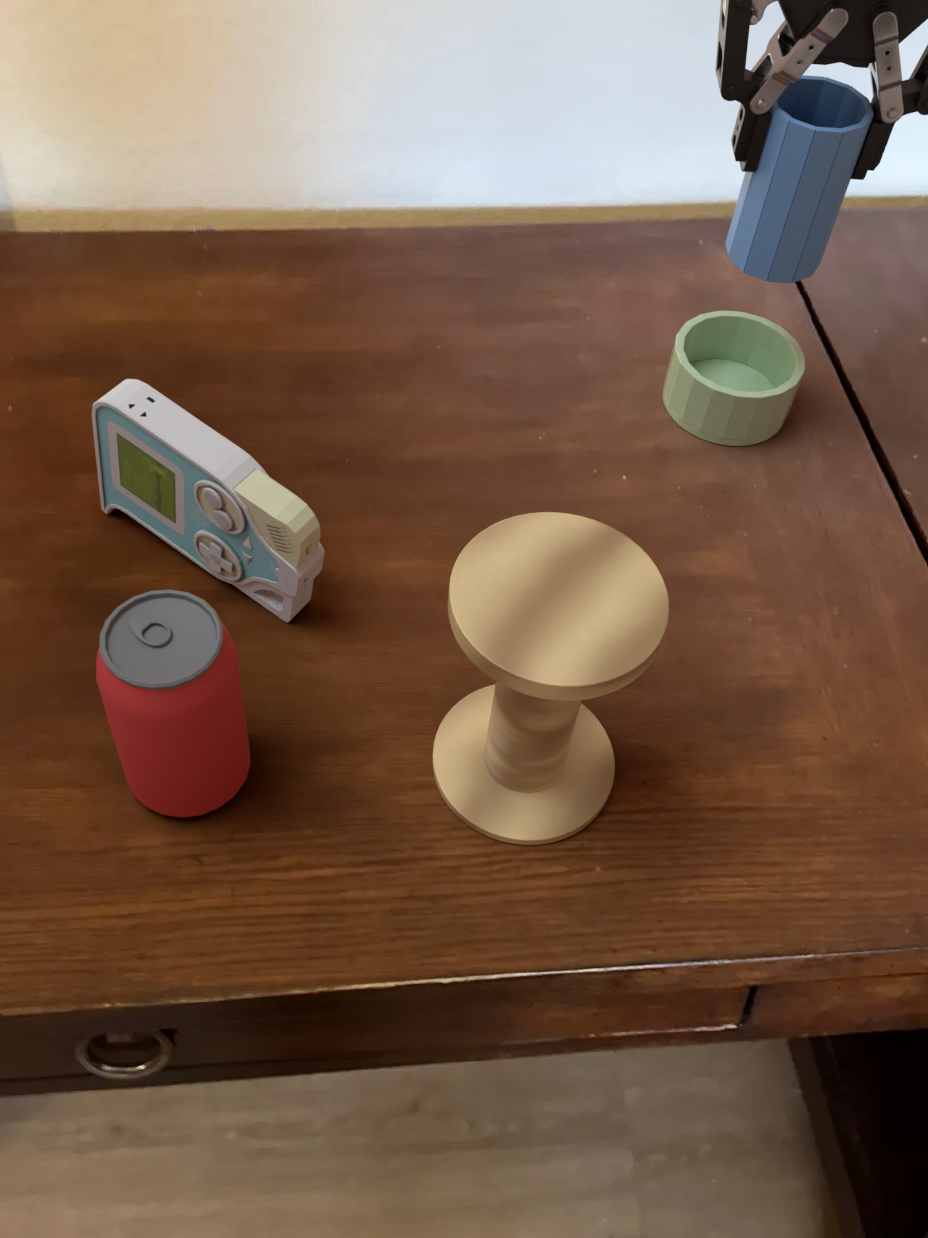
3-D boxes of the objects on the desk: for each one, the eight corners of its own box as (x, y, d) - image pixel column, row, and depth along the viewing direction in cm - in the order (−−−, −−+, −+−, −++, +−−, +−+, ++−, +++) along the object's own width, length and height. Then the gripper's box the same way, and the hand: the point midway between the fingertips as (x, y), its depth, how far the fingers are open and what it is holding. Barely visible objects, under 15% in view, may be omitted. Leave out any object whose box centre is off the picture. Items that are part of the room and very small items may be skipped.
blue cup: (831, 247, 76) (886, 96, 69) (799, 294, 73) (853, 143, 65) (747, 214, 78) (790, 64, 70) (711, 260, 75) (753, 107, 67)
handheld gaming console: (287, 649, 73) (97, 513, 75) (316, 619, 74) (129, 486, 77) (301, 540, 63) (84, 389, 66) (334, 508, 65) (120, 362, 67)
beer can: (186, 695, 68) (159, 557, 58) (277, 758, 66) (264, 626, 56) (99, 777, 64) (55, 645, 55) (192, 846, 62) (163, 721, 53)
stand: (643, 739, 68) (704, 569, 56) (561, 879, 63) (610, 724, 51) (488, 659, 71) (516, 481, 59) (397, 787, 65) (407, 619, 53)
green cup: (804, 390, 87) (823, 341, 83) (758, 465, 82) (776, 416, 78) (692, 343, 89) (706, 293, 86) (641, 413, 84) (654, 363, 81)
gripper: (765, -130, 55) (685, 198, 68) (1073, -105, 56) (935, 214, 69) (742, -194, 59) (672, 125, 73) (1028, -171, 60) (906, 140, 74)
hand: (800, 167), depth 71 cm, fingers closed on blue cup, 6 cm apart
